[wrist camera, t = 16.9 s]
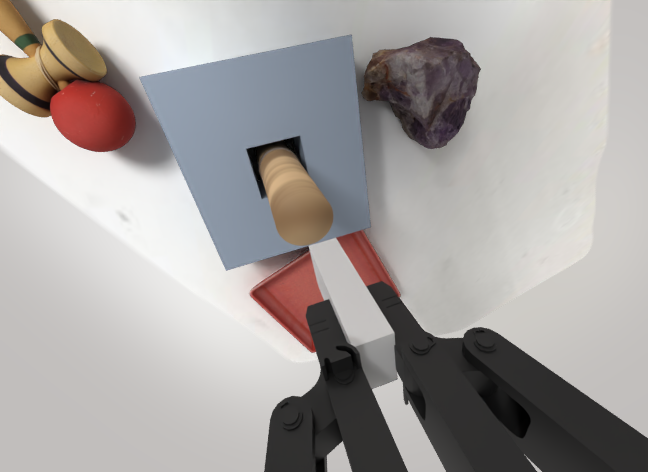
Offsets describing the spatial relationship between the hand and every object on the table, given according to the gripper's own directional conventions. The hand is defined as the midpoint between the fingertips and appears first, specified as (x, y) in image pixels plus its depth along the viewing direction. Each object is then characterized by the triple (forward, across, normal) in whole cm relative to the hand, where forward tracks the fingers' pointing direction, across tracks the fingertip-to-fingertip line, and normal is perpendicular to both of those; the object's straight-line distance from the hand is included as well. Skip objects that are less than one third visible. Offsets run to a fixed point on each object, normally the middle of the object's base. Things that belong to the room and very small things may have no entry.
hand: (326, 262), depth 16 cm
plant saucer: (+24, +3, -22) cm, 32 cm away
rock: (+23, +17, +4) cm, 29 cm away
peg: (+23, 0, 0) cm, 23 cm away
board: (+23, 0, 0) cm, 23 cm away
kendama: (+23, -17, +14) cm, 32 cm away
